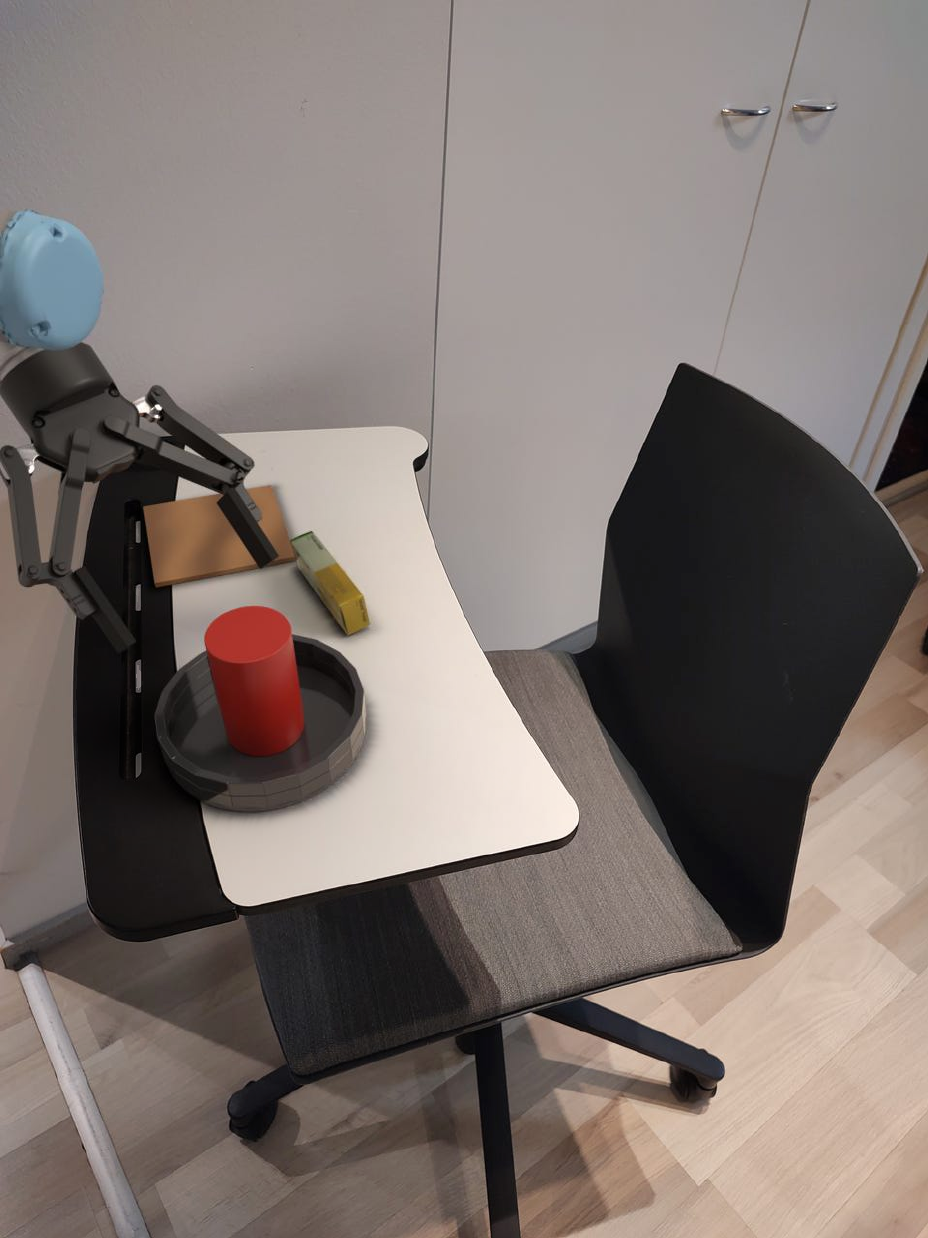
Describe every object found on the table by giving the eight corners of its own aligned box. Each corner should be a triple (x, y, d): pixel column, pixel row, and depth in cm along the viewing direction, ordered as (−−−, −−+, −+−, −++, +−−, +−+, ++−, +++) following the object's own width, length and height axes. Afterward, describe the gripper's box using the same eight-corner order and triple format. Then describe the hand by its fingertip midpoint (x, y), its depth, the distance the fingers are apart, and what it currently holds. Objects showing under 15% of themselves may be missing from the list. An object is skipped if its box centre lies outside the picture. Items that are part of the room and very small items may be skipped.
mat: (155, 587, 87) (154, 583, 87) (144, 510, 97) (142, 506, 96) (296, 560, 91) (295, 556, 90) (271, 489, 101) (270, 484, 100)
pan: (175, 836, 65) (166, 808, 63) (155, 686, 77) (147, 657, 75) (388, 780, 70) (387, 751, 68) (339, 645, 81) (336, 616, 79)
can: (232, 765, 70) (209, 671, 63) (221, 708, 74) (198, 615, 68) (312, 745, 72) (298, 651, 65) (296, 691, 76) (282, 598, 69)
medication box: (296, 569, 90) (287, 538, 87) (320, 559, 91) (312, 528, 88) (346, 637, 82) (338, 605, 79) (372, 625, 83) (365, 593, 80)
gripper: (167, 336, 76) (302, 544, 79) (-131, 447, 62) (47, 697, 65) (194, 291, 70) (339, 519, 73) (-130, 402, 56) (67, 680, 59)
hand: (202, 603), depth 69 cm, fingers open, 13 cm apart
